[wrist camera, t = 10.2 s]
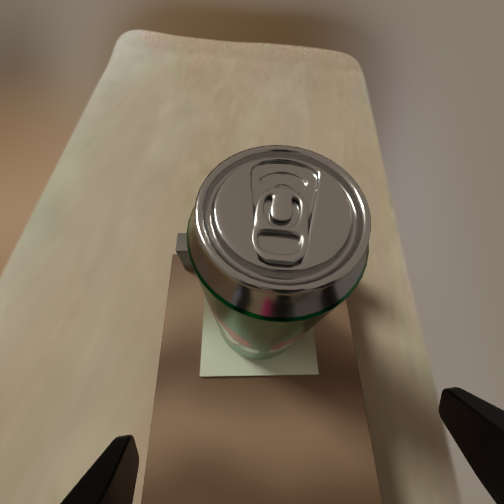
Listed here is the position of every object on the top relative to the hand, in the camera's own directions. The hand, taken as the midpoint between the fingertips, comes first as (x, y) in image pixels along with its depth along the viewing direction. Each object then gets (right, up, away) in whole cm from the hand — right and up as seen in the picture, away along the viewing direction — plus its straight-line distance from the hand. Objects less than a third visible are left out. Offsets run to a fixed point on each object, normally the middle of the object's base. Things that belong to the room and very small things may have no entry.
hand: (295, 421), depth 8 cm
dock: (-1, -3, +10) cm, 11 cm away
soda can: (-1, 0, +10) cm, 10 cm away
